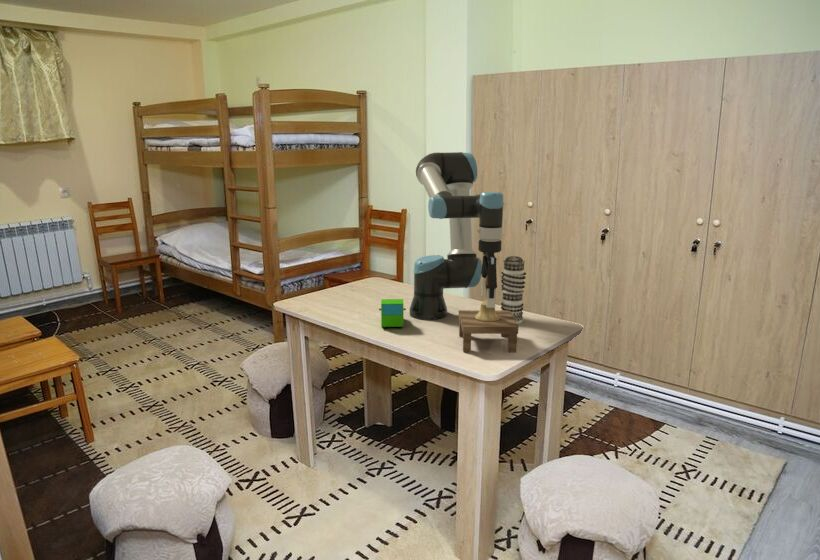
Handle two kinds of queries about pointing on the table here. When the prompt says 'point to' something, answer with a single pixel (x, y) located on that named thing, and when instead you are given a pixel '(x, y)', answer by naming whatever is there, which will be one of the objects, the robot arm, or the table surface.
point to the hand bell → (486, 311)
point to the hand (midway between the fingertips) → (487, 301)
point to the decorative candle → (513, 287)
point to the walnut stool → (487, 327)
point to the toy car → (392, 313)
